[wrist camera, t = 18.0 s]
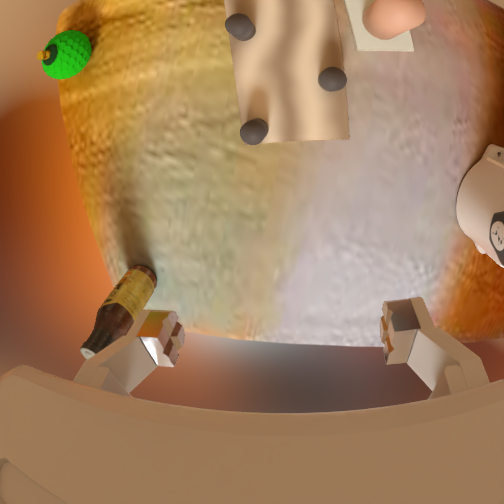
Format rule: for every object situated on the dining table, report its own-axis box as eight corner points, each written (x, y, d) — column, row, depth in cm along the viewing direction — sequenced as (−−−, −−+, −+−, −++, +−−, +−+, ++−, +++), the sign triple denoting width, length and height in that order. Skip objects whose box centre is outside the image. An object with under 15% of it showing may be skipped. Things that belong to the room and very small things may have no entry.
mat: (399, 0, 23) (400, -1, 22) (412, 51, 26) (414, 51, 26) (343, -1, 24) (344, -3, 24) (356, 51, 28) (357, 50, 28)
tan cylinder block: (393, 8, 23) (419, -11, 15) (402, 40, 25) (430, 29, 18) (358, 6, 24) (375, -16, 16) (366, 39, 26) (387, 24, 19)
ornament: (79, 27, 29) (37, 23, 20) (110, 40, 30) (67, 35, 22) (59, 69, 33) (17, 73, 24) (87, 84, 34) (44, 90, 26)
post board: (327, -22, 23) (331, -36, 19) (348, 138, 35) (355, 144, 31) (223, -13, 26) (213, -25, 22) (244, 144, 38) (238, 150, 34)
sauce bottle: (133, 257, 50) (73, 333, 33) (162, 274, 51) (111, 356, 34) (126, 280, 53) (73, 354, 36) (152, 296, 54) (106, 375, 37)
